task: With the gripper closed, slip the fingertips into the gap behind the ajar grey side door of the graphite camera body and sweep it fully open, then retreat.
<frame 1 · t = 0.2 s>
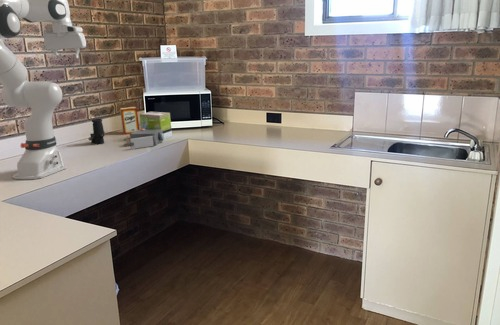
hand: (67, 58, 201), 48 cm above the worktop, tool pointing down, fingers open, 8 cm apart
side door: (142, 142, 216), point 3 cm above the worktop, hinge at 35.0°
tea box: (157, 138, 240), on the worktop
camera body: (147, 142, 227), on the worktop
baking soda box: (131, 133, 258), on the worktop
scope: (99, 143, 232), on the worktop
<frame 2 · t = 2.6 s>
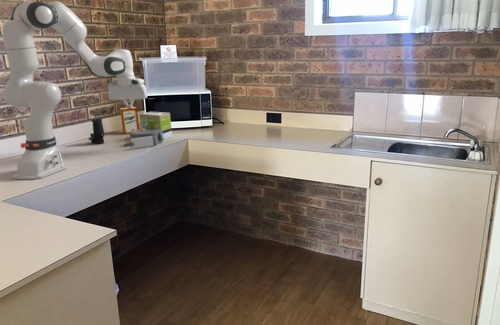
hand: (129, 108, 213), 21 cm above the worktop, tool pointing down, fingers closed
nothing on the worktop moved.
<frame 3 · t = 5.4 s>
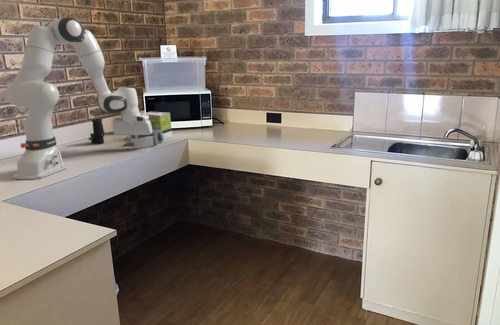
hand: (134, 143, 216), 3 cm above the worktop, tool pointing down, fingers closed
side door: (143, 142, 216), point 3 cm above the worktop, hinge at 37.1°, touching gripper
everything else where it was.
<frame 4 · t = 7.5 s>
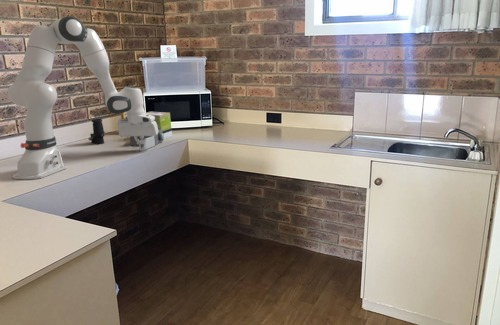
hand: (140, 144, 212), 3 cm above the worktop, tool pointing down, fingers closed
side door: (147, 143, 214), point 3 cm above the worktop, hinge at 73.8°, touching gripper
everything else where it was.
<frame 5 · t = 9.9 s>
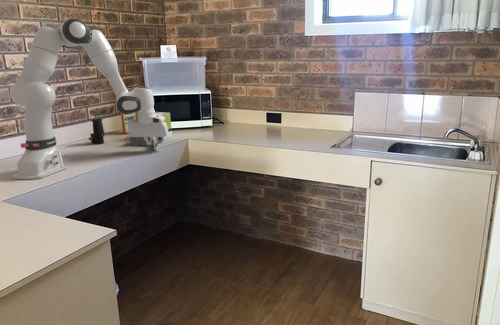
hand: (149, 145, 210), 3 cm above the worktop, tool pointing down, fingers closed
side door: (154, 142, 214), point 3 cm above the worktop, hinge at 109.5°, touching gripper
everything else where it was.
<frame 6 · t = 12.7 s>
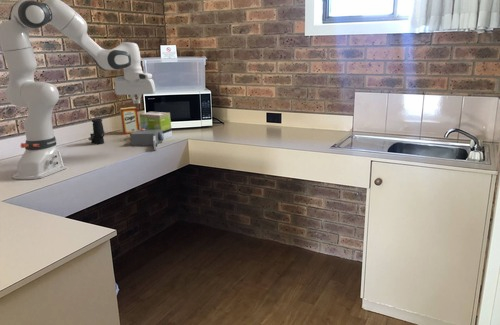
hand: (136, 103, 206), 24 cm above the worktop, tool pointing down, fingers closed
side door: (154, 142, 214), point 3 cm above the worktop, hinge at 109.8°
everything else where it was.
at the end: side door at +110° (first picture: +35°) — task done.
